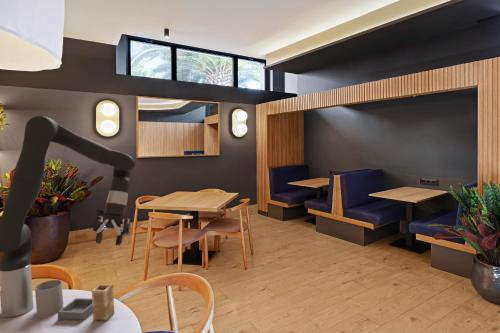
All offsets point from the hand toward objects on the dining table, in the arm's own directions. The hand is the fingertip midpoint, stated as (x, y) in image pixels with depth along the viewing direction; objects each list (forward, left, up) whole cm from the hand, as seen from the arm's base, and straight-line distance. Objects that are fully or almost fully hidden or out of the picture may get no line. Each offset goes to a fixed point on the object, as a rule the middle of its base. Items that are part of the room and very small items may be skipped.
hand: (108, 244), depth 116 cm
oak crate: (-4, -10, -23) cm, 26 cm away
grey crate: (-11, -2, -23) cm, 26 cm away
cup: (-20, +7, -24) cm, 32 cm away
